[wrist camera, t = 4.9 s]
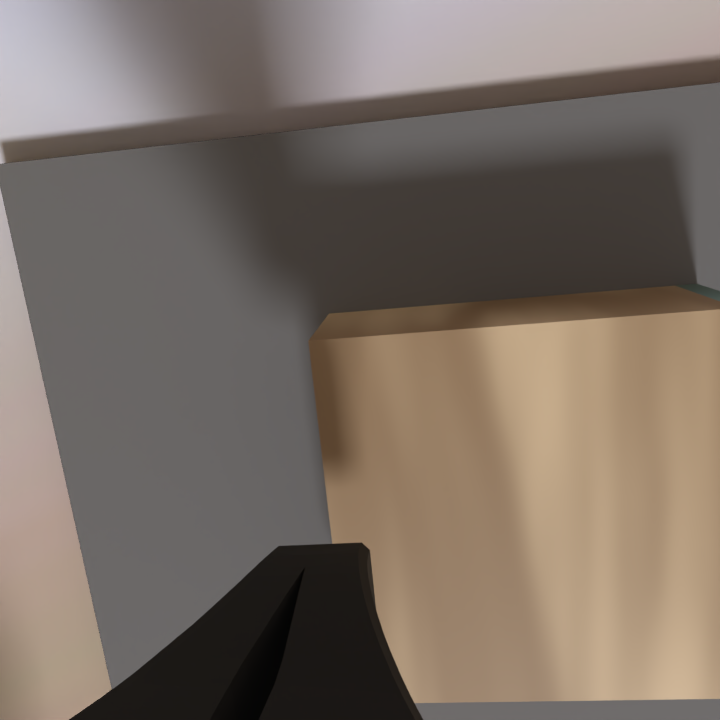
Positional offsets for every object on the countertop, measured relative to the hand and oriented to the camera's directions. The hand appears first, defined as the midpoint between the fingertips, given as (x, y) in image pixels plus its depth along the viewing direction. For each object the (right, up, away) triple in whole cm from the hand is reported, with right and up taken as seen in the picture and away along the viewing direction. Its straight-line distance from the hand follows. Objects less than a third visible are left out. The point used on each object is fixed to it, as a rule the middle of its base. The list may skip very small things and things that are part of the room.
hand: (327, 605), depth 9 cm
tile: (0, +1, +3) cm, 3 cm away
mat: (+2, +1, +5) cm, 5 cm away
